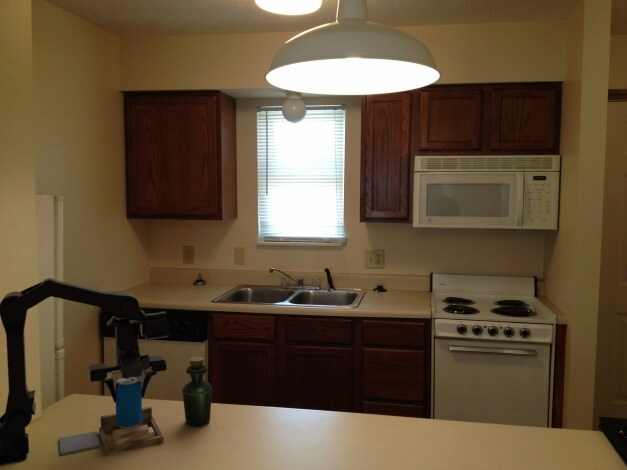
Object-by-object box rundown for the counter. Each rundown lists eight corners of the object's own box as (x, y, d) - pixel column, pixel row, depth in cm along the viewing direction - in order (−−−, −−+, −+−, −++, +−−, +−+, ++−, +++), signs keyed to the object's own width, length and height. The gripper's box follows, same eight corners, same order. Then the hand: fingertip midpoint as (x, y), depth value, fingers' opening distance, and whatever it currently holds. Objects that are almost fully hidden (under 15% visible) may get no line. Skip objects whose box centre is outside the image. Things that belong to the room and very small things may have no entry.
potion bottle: (206, 429, 140) (205, 364, 138) (178, 427, 141) (176, 362, 140) (216, 417, 148) (215, 355, 146) (189, 415, 149) (188, 353, 148)
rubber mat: (60, 455, 126) (60, 453, 126) (59, 440, 134) (59, 438, 134) (100, 446, 130) (100, 445, 130) (96, 432, 138) (96, 430, 138)
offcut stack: (113, 451, 128) (112, 436, 127) (111, 445, 131) (110, 430, 131) (155, 442, 132) (154, 427, 132) (152, 436, 136) (151, 422, 135)
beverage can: (146, 419, 139) (145, 376, 138) (135, 430, 133) (134, 384, 132) (123, 418, 140) (122, 375, 139) (111, 429, 134) (110, 383, 133)
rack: (105, 455, 126) (104, 437, 125) (99, 432, 138) (98, 416, 137) (163, 442, 132) (163, 425, 132) (153, 422, 144) (152, 406, 144)
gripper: (91, 354, 123) (93, 418, 124) (170, 344, 132) (171, 404, 133) (87, 343, 133) (89, 402, 134) (161, 334, 142) (162, 389, 143)
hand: (128, 399), depth 136 cm, fingers closed on beverage can, 6 cm apart
